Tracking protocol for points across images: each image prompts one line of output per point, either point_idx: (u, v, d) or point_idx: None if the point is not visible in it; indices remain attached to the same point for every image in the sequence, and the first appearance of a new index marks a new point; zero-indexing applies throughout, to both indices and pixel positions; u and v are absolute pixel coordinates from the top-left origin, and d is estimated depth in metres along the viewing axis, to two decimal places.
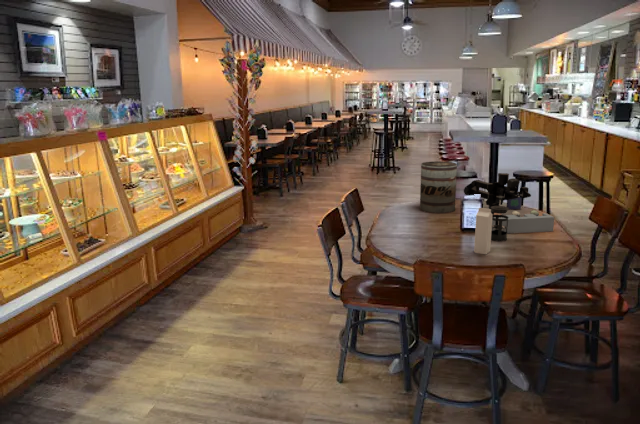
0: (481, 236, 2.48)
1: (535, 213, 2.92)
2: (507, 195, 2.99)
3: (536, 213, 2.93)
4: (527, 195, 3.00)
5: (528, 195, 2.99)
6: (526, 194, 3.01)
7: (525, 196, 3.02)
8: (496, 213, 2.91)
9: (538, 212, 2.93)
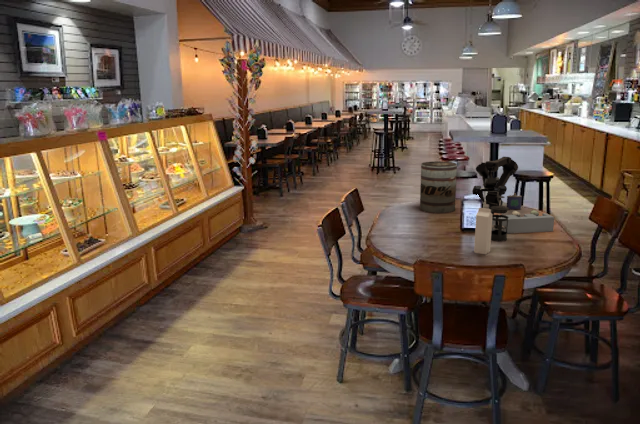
0: (481, 236, 2.48)
1: (535, 213, 2.92)
2: (479, 193, 3.04)
3: (536, 213, 2.93)
4: (498, 198, 3.01)
5: (498, 200, 3.01)
6: None
7: None
8: (496, 213, 2.91)
9: (538, 212, 2.93)
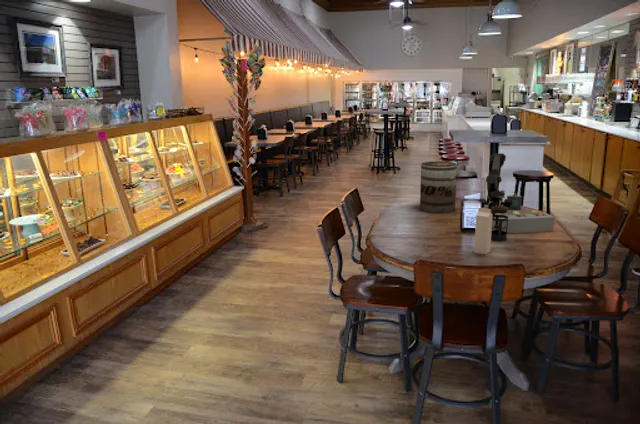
0: (481, 236, 2.48)
1: (535, 213, 2.92)
2: (491, 206, 2.96)
3: (536, 213, 2.93)
4: None
5: None
6: None
7: None
8: (497, 214, 2.89)
9: (538, 212, 2.93)
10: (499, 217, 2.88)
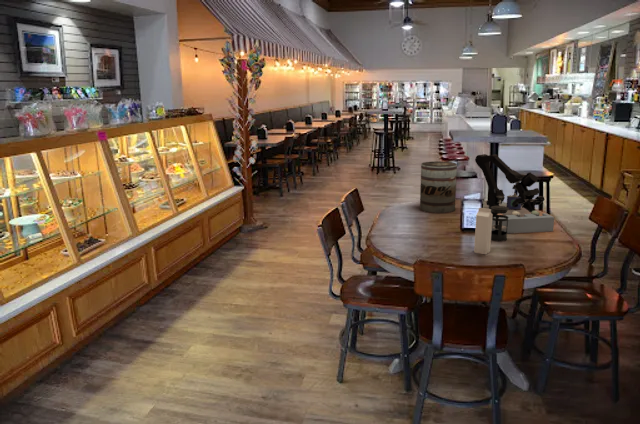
0: (481, 236, 2.48)
1: (536, 213, 2.92)
2: (526, 205, 2.98)
3: (537, 213, 2.92)
4: (532, 210, 2.97)
5: None
6: None
7: None
8: None
9: None
10: None
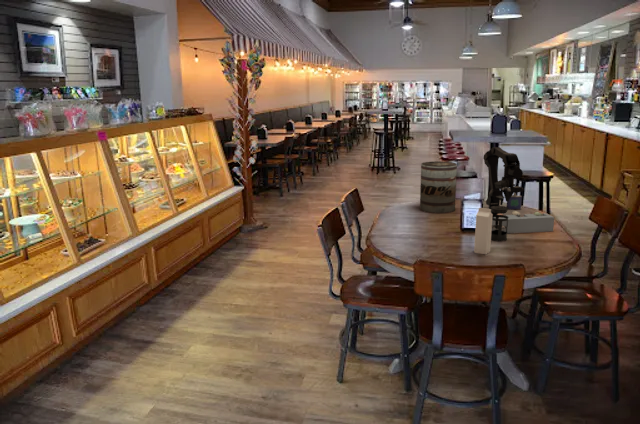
0: (481, 236, 2.48)
1: (538, 215, 2.89)
2: None
3: None
4: None
5: None
6: None
7: None
8: None
9: (541, 214, 2.89)
10: None
